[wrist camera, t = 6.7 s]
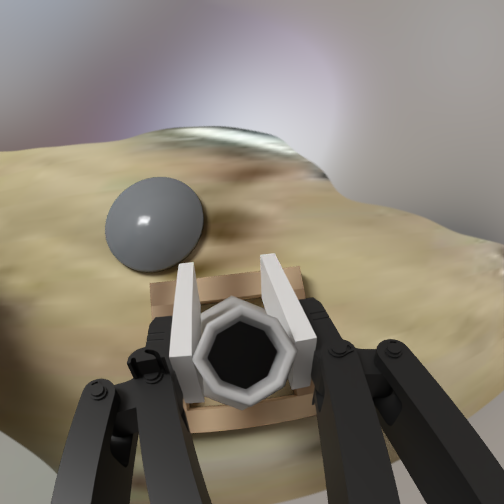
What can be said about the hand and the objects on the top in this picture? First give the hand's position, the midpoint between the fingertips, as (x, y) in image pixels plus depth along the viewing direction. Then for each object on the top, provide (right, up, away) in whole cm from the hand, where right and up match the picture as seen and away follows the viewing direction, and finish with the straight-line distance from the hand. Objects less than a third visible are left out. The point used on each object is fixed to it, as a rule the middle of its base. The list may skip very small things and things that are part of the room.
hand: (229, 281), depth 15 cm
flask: (0, -5, +3) cm, 6 cm away
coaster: (-8, +4, +12) cm, 15 cm away
